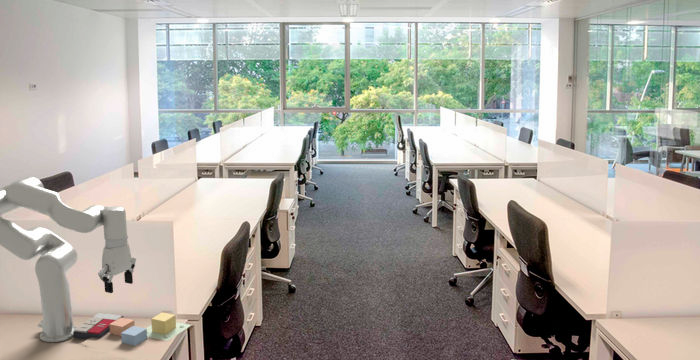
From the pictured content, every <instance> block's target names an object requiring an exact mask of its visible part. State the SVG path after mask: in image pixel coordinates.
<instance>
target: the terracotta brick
mask: <svg viewBox="0 0 700 360" xmlns="http://www.w3.org/2000/svg"><path fill="white" fill-rule="evenodd" d="M109 326H110V332H109V334H111V335H115V336H119V337H120V336H121V333H122V332H124V331H125V330H127V329H129V328H130V327H132V326H135V327H136V325H135V319H130V318H120V319H118V320H116V321H114V322H112V323H110V324H109Z"/></svg>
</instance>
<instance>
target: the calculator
mask: <svg viewBox="0 0 700 360" xmlns="http://www.w3.org/2000/svg"><path fill="white" fill-rule="evenodd" d="M120 318H124V315H120V314H112V313H102V312H98V313H96V314H95V315H93V316H92V317H90V318H88V319H87V320H86V321H85V322H84V323H82V324H81V325H79V326H77V327H78V328H77V329H75V331H73V335H74V337H73V339H74V340H75V339H77V340H83V341H86V340H89V339H90V338H91V339H93V338H95V339H101V338H103V337H104V336H106V335H107V334H108V333H110V326H109V324H110V323H112V322H114V321H116V320H118V319H120Z"/></svg>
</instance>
